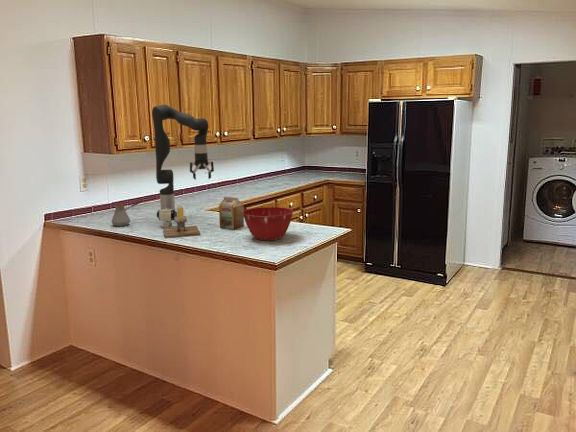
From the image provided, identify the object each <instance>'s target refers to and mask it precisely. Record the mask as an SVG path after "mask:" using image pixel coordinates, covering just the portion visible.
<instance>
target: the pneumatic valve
mask: <svg viewBox="0 0 576 432" xmlns="http://www.w3.org/2000/svg"><path fill="white" fill-rule="evenodd" d="M175 216H178V213H177V210H176V208H175V209H167V208H166V209H161V208H160V209H158V210H157V212H156V218H158V221H163V222H162V226H163V228H172V227H173V222H172V221H175V220H174V219H175V218H174V217H175Z"/></svg>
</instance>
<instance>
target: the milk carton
mask: <svg viewBox="0 0 576 432" xmlns="http://www.w3.org/2000/svg"><path fill="white" fill-rule="evenodd" d="M244 208H245V207H244V203H243V202H241V201H240V200H239V197H234V196H233V197H231V196H223V200H222V201H221V202H220V203H219V206H218V210H219V211H218V213H219V229H220V228H221V230H229V231H236V230H239V229H242V228H244V227H245V219H244V215H243V213H242V212H243V211H244Z"/></svg>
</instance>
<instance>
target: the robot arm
mask: <svg viewBox="0 0 576 432" xmlns="http://www.w3.org/2000/svg"><path fill="white" fill-rule="evenodd" d="M151 115H152V123H153V124H152V125H153V129H154V150H155V161H156V162H155V166H156V168H155V170H156V171H155V178H156V183H157V184H158V185H166V187H163V188H161V189H159V202H160V203H159V204H160V209H166V208H167V209H175V210H176V204H175V188H174V172H173V170H172V169H162V167H163V164H164V162H165V160H166V159H167V158H168V156H169V154H170V152H171V142H170V141H171V140H170V138H169V137H168V135H167V133H166V132H165V130H164V125H163V123H164V122H163V121H166V120H175V121H176V122H177V123H178V124H180V125H181V126H185V127H187V128H189V129H190V130H193V131H198V133H197V134H195V136H194V139H193V140H194V151H193V152H194V162H189V172H190V173H192V175H193V176H192V178H193V179H194V180H195V181H196V180H197V176H196V175H197V174H196V172H197V171H198V170H205V169H206V171H208V173H207V174H208V175H207V176H208V180H210V179H211V178H212V173H213V172H214V171H215V168H214V167H215V166H214V162H213V161H209V159H208V145H207V137H208V131H209V122H208V120H207V119H206V118H203V117H201V118H200V117H199V118H195V117H194V115H193V116H192V115H191V114H188V113H184V112H181V111H179V110H177V109H176V108H173V107H171V106H170V105H167V104H161V105H156V106H153V107H152V110H151ZM209 165H210V168H211V169H210V168H209V167H208V166H209ZM193 166H195V167H194V168H193ZM193 169H194V170H193ZM167 184H168V185H167ZM173 221H175V219H174V220H173Z"/></svg>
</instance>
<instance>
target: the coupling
mask: <svg viewBox="0 0 576 432" xmlns="http://www.w3.org/2000/svg"><path fill="white" fill-rule="evenodd" d="M176 212H177V216H175V217H174V218H175V220H174V223H175V224H177V223H185V224H186V223H187V222H188V219H187V218H188V217H187V215H184V207H183V205H182V204H177V205H176Z"/></svg>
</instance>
